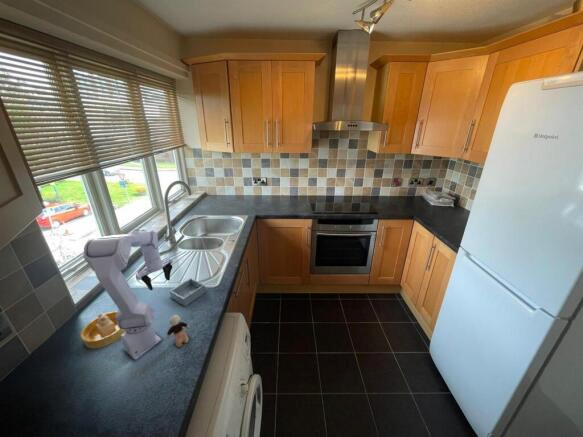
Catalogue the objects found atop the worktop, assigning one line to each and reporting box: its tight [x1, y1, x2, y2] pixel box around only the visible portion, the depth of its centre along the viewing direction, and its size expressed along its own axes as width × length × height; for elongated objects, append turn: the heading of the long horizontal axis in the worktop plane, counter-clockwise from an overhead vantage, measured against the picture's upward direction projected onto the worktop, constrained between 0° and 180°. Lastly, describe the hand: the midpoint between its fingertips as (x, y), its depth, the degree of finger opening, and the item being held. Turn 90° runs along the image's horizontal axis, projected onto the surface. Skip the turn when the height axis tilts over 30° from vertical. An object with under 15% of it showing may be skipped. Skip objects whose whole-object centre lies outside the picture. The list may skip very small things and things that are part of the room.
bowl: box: [80, 310, 125, 349], centre depth 90 cm, size 14×14×4 cm
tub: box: [169, 277, 207, 307], centre depth 110 cm, size 11×10×4 cm
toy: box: [95, 314, 117, 337], centre depth 90 cm, size 4×5×8 cm
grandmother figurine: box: [166, 314, 190, 348], centre depth 84 cm, size 8×4×13 cm, turn 141°
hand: (159, 284), depth 103 cm, fingers open, 7 cm apart
